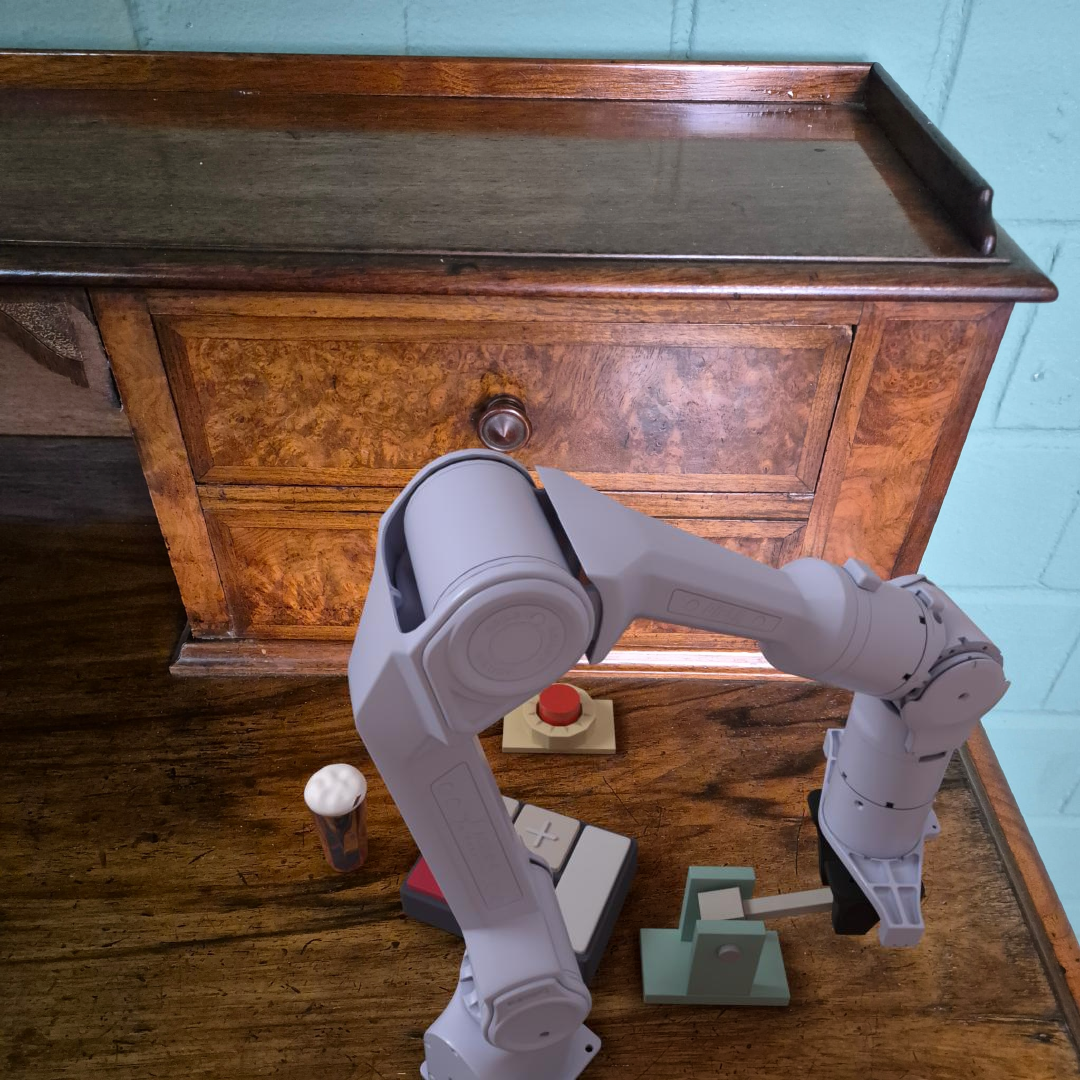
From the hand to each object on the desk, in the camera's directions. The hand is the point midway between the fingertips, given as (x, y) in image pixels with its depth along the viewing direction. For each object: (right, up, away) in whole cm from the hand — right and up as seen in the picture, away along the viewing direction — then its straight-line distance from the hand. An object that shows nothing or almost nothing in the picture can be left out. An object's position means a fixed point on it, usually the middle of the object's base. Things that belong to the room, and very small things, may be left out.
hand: (842, 905), depth 63 cm
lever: (-3, -1, +1) cm, 3 cm away
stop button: (-18, +9, +22) cm, 30 cm away
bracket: (-8, -7, +5) cm, 11 cm away
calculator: (-21, -3, +10) cm, 24 cm away
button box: (-18, +7, +23) cm, 31 cm away
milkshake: (-35, -1, +12) cm, 37 cm away
